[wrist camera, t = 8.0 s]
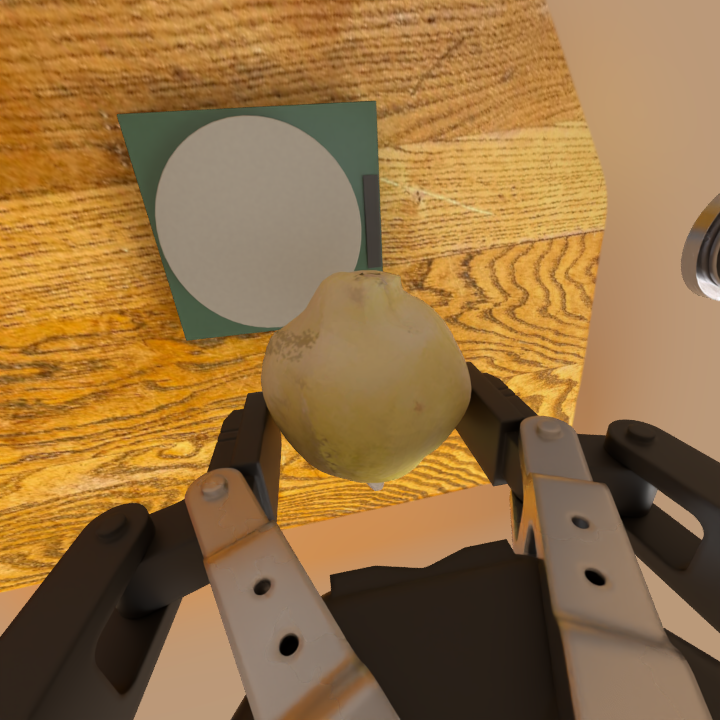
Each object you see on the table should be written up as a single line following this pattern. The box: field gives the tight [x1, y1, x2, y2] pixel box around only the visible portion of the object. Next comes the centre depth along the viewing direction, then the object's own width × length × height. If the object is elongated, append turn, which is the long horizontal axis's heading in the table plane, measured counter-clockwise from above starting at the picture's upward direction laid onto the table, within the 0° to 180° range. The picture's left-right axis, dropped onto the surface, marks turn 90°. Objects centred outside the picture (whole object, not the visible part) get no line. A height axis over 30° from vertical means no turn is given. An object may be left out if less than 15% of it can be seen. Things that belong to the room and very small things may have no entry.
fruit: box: [261, 270, 471, 491], centre depth 12 cm, size 6×6×10 cm
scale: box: [117, 101, 383, 340], centre depth 25 cm, size 15×14×3 cm
